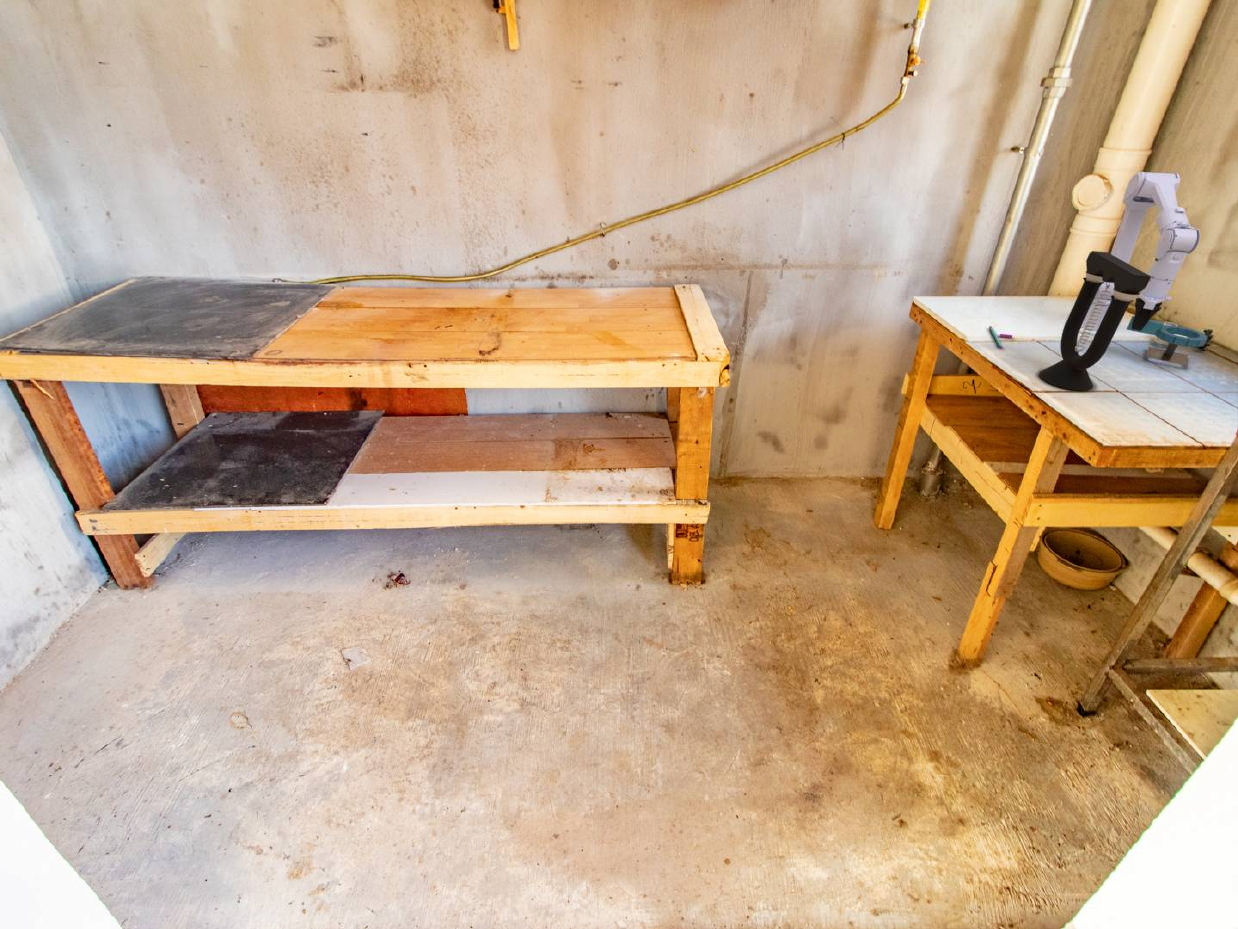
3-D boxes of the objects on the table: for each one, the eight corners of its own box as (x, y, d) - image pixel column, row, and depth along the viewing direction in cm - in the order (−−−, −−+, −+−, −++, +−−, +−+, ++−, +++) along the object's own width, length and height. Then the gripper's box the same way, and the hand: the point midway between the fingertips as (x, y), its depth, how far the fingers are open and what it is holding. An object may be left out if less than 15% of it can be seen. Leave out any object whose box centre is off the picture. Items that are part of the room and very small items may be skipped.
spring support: (1108, 398, 159) (1167, 276, 143) (1055, 394, 160) (1108, 273, 144) (1070, 363, 176) (1119, 251, 160) (1023, 360, 178) (1067, 248, 161)
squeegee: (1019, 347, 183) (1000, 345, 184) (1018, 350, 183) (999, 348, 184) (1007, 327, 195) (989, 325, 196) (1006, 330, 195) (988, 328, 196)
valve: (1153, 348, 186) (1204, 356, 182) (1164, 326, 182) (1216, 333, 178) (1148, 340, 191) (1197, 347, 187) (1159, 318, 187) (1209, 325, 183)
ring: (1125, 334, 171) (1130, 322, 169) (1127, 323, 178) (1133, 311, 176) (1203, 350, 163) (1210, 338, 161) (1203, 338, 170) (1209, 326, 168)
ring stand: (1144, 360, 179) (1154, 341, 176) (1146, 350, 185) (1155, 332, 182) (1185, 369, 174) (1195, 350, 171) (1185, 358, 180) (1195, 340, 177)
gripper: (1179, 287, 159) (1153, 340, 166) (1180, 273, 168) (1155, 323, 176) (1145, 281, 162) (1120, 333, 170) (1147, 268, 172) (1124, 317, 179)
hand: (1136, 328), depth 173 cm, fingers closed on ring, 2 cm apart
